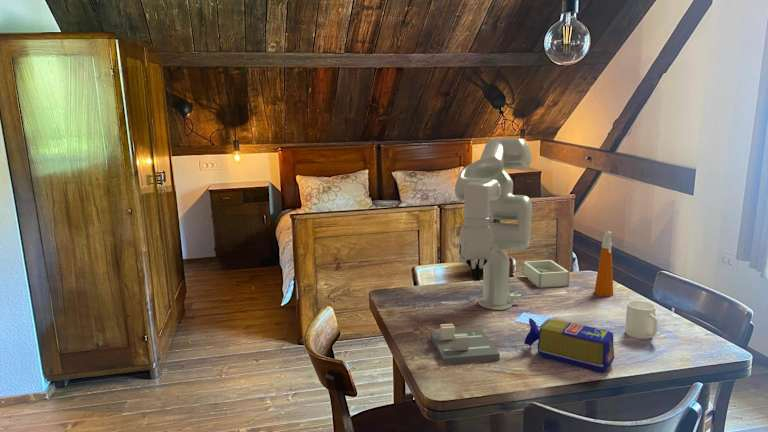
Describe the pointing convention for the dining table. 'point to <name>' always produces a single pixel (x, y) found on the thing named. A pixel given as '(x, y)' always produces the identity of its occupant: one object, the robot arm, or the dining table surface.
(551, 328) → the bread
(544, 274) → the frame
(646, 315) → the cup
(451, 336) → the fader
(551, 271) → the medication box
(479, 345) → the console
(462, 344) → the fader
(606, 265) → the spray bottle
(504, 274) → the robot arm
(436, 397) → the dining table surface
